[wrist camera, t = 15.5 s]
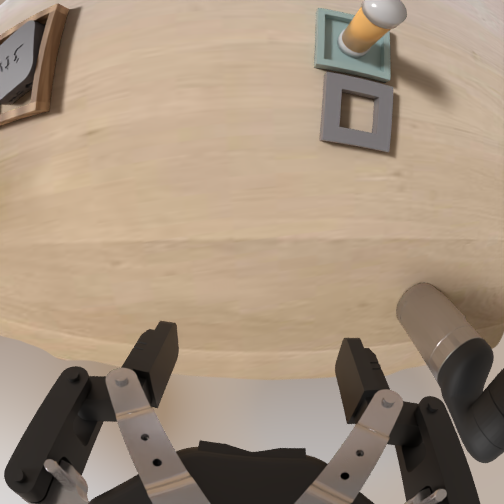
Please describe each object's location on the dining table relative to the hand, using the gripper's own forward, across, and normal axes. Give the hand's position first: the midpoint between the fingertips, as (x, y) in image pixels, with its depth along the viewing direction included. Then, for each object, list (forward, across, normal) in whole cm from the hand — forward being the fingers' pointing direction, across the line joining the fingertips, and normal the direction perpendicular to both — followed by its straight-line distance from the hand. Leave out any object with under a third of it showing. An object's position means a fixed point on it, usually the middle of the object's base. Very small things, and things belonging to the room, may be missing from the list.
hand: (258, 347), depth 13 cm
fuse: (+29, -11, -27) cm, 41 cm away
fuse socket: (+30, -12, -16) cm, 36 cm away
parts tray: (+30, -11, -27) cm, 42 cm away
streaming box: (+29, +49, -29) cm, 65 cm away
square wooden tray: (+29, +50, -28) cm, 65 cm away
